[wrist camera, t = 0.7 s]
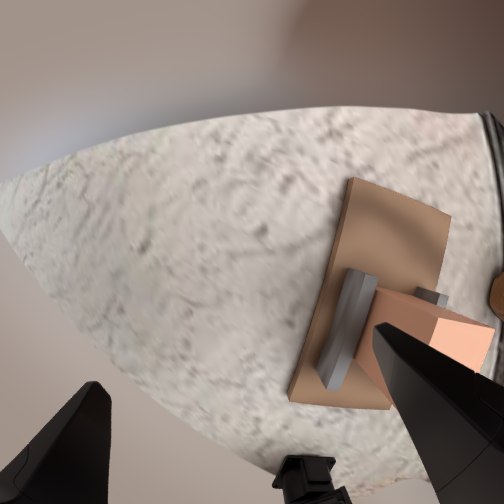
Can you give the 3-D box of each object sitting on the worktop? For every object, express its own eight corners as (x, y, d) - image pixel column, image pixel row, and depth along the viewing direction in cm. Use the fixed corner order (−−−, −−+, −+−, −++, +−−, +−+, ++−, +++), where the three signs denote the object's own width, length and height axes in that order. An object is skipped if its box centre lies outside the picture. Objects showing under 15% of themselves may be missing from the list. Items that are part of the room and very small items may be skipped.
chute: (383, 403, 28) (404, 428, 22) (287, 393, 27) (295, 424, 22) (443, 216, 26) (475, 214, 21) (348, 179, 26) (372, 167, 20)
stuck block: (392, 351, 26) (461, 409, 14) (340, 343, 25) (399, 412, 13) (411, 295, 25) (495, 329, 13) (360, 282, 25) (438, 317, 13)
